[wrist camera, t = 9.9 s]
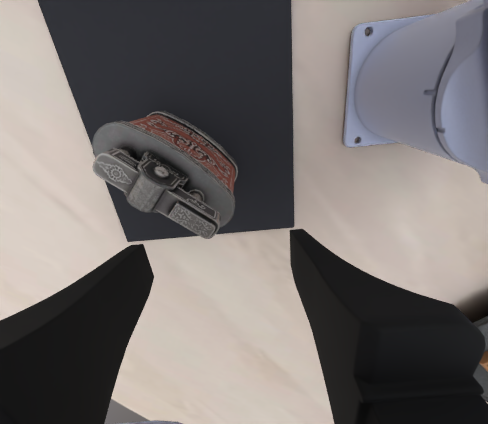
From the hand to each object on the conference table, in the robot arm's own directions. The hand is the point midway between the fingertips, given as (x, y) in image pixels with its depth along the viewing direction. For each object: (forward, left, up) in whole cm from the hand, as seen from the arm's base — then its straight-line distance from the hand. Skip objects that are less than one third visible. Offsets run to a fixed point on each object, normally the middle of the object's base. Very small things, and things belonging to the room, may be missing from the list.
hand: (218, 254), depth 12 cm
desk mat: (+3, -5, -10) cm, 12 cm away
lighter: (+2, -3, -10) cm, 11 cm away
